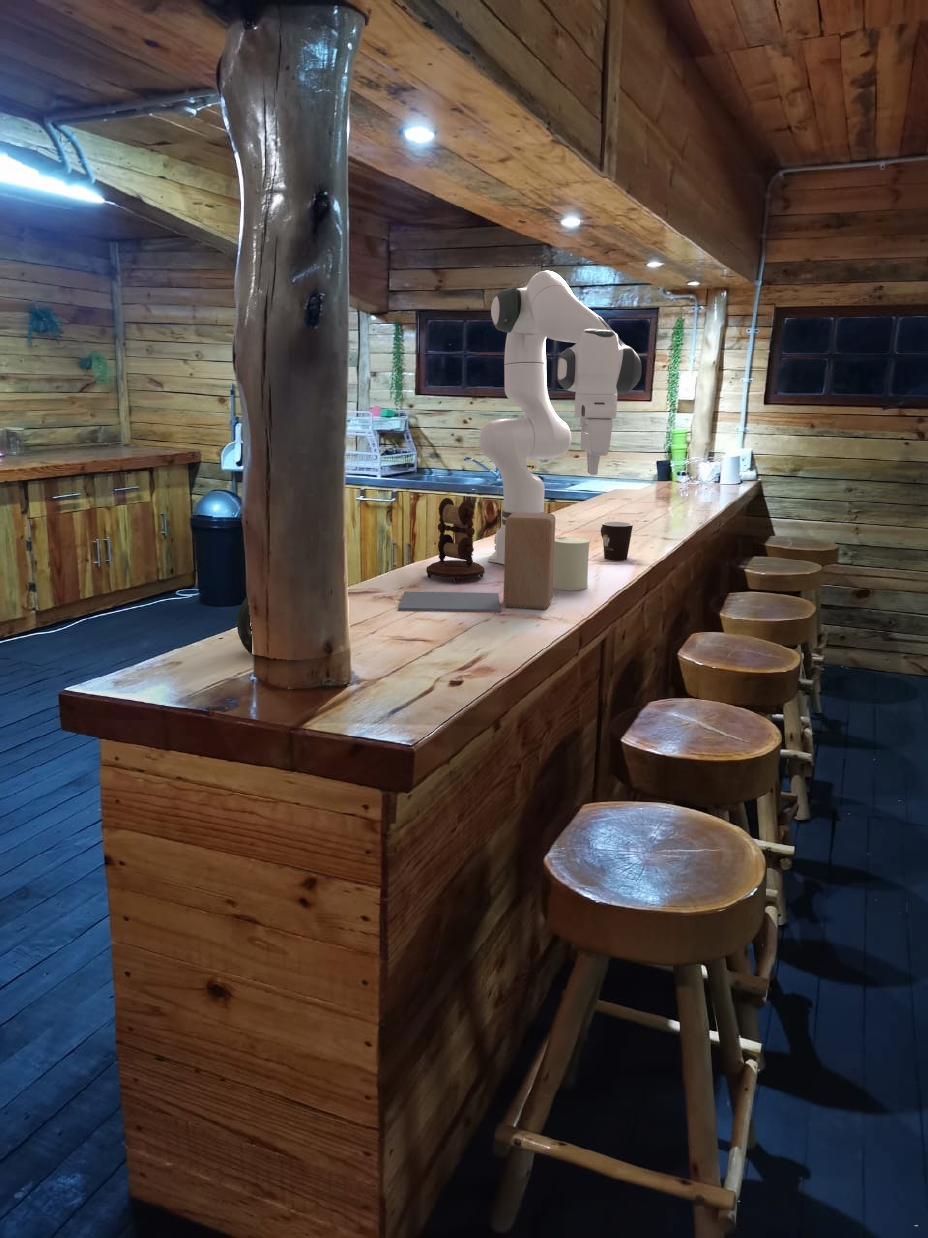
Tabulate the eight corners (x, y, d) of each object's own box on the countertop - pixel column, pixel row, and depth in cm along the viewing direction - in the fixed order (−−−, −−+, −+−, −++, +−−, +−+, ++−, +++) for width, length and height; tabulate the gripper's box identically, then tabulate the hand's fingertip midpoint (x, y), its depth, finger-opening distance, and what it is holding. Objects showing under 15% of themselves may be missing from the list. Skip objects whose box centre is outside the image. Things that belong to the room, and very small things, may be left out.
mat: (404, 593, 209) (404, 591, 209) (498, 595, 208) (498, 592, 208) (398, 610, 193) (398, 607, 193) (500, 612, 193) (500, 609, 193)
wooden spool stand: (496, 577, 228) (498, 499, 222) (457, 586, 217) (458, 504, 212) (453, 569, 237) (454, 494, 232) (414, 577, 226) (414, 498, 221)
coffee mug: (633, 561, 251) (635, 526, 248) (602, 561, 251) (604, 525, 248) (626, 554, 262) (628, 520, 260) (597, 553, 262) (598, 519, 260)
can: (566, 580, 225) (568, 533, 222) (595, 586, 219) (597, 538, 216) (542, 586, 219) (543, 537, 216) (571, 592, 213) (573, 542, 210)
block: (547, 610, 195) (551, 519, 190) (502, 607, 197) (504, 517, 192) (552, 600, 204) (556, 513, 199) (509, 597, 206) (511, 511, 201)
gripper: (575, 406, 200) (572, 469, 203) (586, 409, 180) (583, 478, 183) (603, 407, 200) (600, 469, 203) (617, 409, 180) (613, 479, 183)
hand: (592, 474), depth 193 cm, fingers closed
